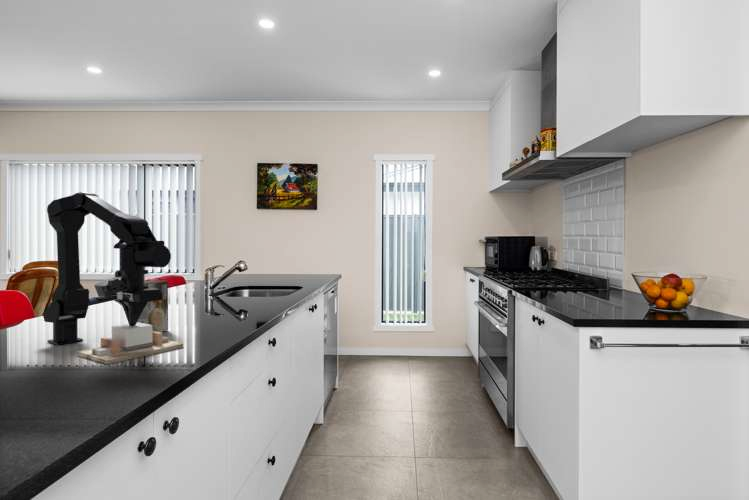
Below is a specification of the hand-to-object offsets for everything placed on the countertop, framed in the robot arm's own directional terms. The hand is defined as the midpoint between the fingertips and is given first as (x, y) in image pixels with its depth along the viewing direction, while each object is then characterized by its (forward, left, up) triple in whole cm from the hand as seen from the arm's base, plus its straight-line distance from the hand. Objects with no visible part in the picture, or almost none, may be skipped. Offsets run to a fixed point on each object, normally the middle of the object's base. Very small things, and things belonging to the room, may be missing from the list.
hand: (132, 325), depth 115 cm
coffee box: (-17, +15, -7) cm, 24 cm away
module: (0, 0, -6) cm, 6 cm away
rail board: (0, 0, -7) cm, 7 cm away
